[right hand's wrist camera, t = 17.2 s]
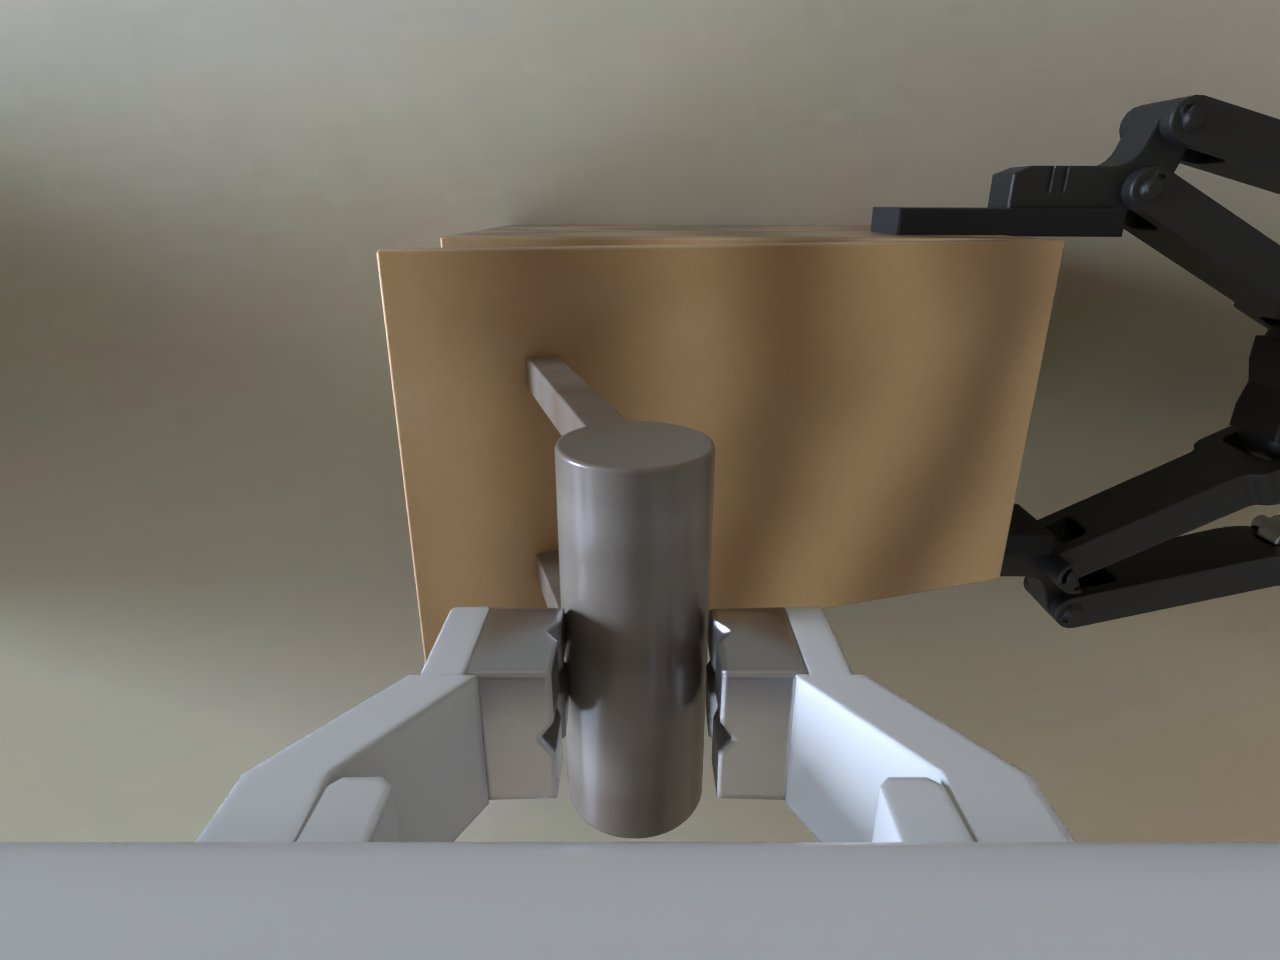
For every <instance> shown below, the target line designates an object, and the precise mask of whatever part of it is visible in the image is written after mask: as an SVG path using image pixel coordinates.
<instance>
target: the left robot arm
mask: <svg viewBox="0 0 1280 960" xmlns="http://www.w3.org/2000/svg"><path fill="white" fill-rule="evenodd" d="M1119 131H1120V138H1121V140H1120V142H1119V143H1118V145H1117V147H1116V149H1115V151H1114V152H1113V153H1112V155H1111V156H1110V157H1109V158H1108V159H1107V160H1106V161H1105V162H1103V163H1102V164H1100V165H1098V166H1026V167H1015V168H1009V169H1006V170H1004V171H1001V172H999V173H996V174H994V175H993V178H992V184H991V190H990V196H989V203H988V208H911V207H873V215H872V224H871V231H872V232H879V233H886V234H894V235H1006V236H1072V237H1122V232H1123V229H1125V230H1126V231H1128V232H1130V233H1131V234H1133V235H1134V236H1136V237H1137V238H1139V239H1140V240H1142V241H1143V242H1145V243H1146V244H1148V245H1149V246H1151V247H1152V248H1154V249H1155V250H1157V251H1158V252H1160V253H1161V254H1163V255H1164V256H1166V257H1167V258H1169V259H1170V260H1172V261H1174V262H1175V263H1177V264H1178V265H1180V266H1181V267H1183V268H1184V269H1186V270H1187V271H1189V272H1190V273H1192V274H1193V275H1195V276H1196V277H1198V278H1199V279H1201V280H1202V281H1204V282H1205V283H1207V284H1208V285H1210V286H1211V287H1213V288H1214V289H1216V290H1218V291H1219V292H1221V293H1222V294H1224V295H1225V296H1227V297H1228V298H1230V299H1231V300H1233V301H1234V302H1235V304H1234V306H1235V307H1236V308H1237V309H1238V310H1240V311H1241V312H1243V313H1244V314H1246V315H1247V316H1249V317H1251V318H1252V319H1254V320H1255V321H1257V322H1258V323H1260V324H1261V325H1263V326H1264V327H1266V328H1267V329H1269V330H1268V331H1267V333H1266V334H1265V336H1256V337H1255V340H1254V344H1253V347H1252V350H1251V354H1250V357H1249V380H1248V383H1247V385H1246V387H1245V388H1244V390H1243V392H1242V393H1241V395H1240V397H1239V399H1238V400H1237V402H1236V404H1235V408H1234V411H1233V415H1232V418H1231V421H1230V425H1232V426H1230V427H1227V428H1225V429H1223V430H1221V431H1218V432H1216V433H1214V434H1212V435H1209V436H1207V437H1205V438H1203V439H1201V440H1199V441H1197V442H1196V443H1195V444H1194V450H1193V451H1192V452H1190V453H1188V454H1186V455H1184V456H1181V457H1179V458H1177V459H1175V460H1172V461H1170V462H1168V463H1166V464H1163V465H1161V466H1159V467H1157V468H1154V469H1152V470H1150V471H1148V472H1145V473H1143V474H1141V475H1139V476H1136V477H1134V478H1132V479H1130V480H1127V481H1125V482H1123V483H1121V484H1118V485H1116V486H1114V487H1112V488H1109V489H1107V490H1105V491H1103V492H1100V493H1098V494H1096V495H1094V496H1091V497H1089V498H1087V499H1085V500H1082V501H1080V502H1078V503H1076V504H1073V505H1071V506H1069V507H1066V508H1064V509H1062V510H1060V511H1057V512H1055V513H1053V514H1051V515H1048V516H1046V517H1044V518H1042V519H1039V520H1036V519H1035V518H1034V517H1033V516H1031V515H1030V514H1029V513H1028V512H1027V511H1025V510H1024V509H1023V508H1022V507H1021V506H1019V505H1018V504H1014V506H1013V512H1012V517H1011V522H1010V527H1009V532H1008V537H1007V542H1006V547H1005V553H1004V558H1003V563H1002V568H1001V573H1000V576H1026V577H1025V578H1024V587H1025V589H1026V590H1027V591H1028V592H1029V593H1030V594H1031V595H1032V596H1033V598H1034V599H1035V600H1036V601H1037V602H1038V603H1039V604H1040V605H1041V606H1042V607H1043V608H1044V609H1045V610H1046V611H1047V612H1048V613H1049V614H1050V615H1051V616H1052V617H1053V618H1054V619H1055V620H1056V621H1057V622H1058V623H1059V624H1060V625H1061V626H1063V627H1066V628H1075V627H1080V626H1084V625H1089V624H1094V623H1099V622H1104V621H1109V620H1113V619H1118V618H1123V617H1128V616H1133V615H1137V614H1142V613H1147V612H1152V611H1157V610H1161V609H1166V608H1171V607H1176V606H1181V605H1185V604H1190V603H1195V602H1200V601H1205V600H1210V599H1214V598H1219V597H1224V596H1229V595H1234V594H1238V593H1243V592H1248V591H1253V590H1258V589H1262V588H1267V587H1272V586H1277V585H1279V586H1280V515H1277V516H1273V517H1270V518H1269V517H1267V516H1265V515H1260V516H1257V517H1256V518H1254V519H1253V521H1252V525H1251V526H1231V527H1223V528H1217V529H1211V530H1207V531H1202V532H1198V533H1193V534H1188V535H1184V536H1179V535H1182V534H1184V533H1186V532H1189V531H1191V530H1193V529H1196V528H1198V527H1200V526H1203V525H1205V524H1207V523H1210V522H1212V521H1215V520H1217V519H1219V518H1222V517H1224V516H1226V515H1229V514H1231V513H1233V512H1236V511H1238V510H1240V509H1243V508H1245V507H1247V506H1251V505H1275V504H1279V503H1280V245H1278V244H1277V243H1275V242H1274V241H1272V240H1271V239H1270V238H1268V237H1267V236H1265V235H1264V234H1262V233H1261V232H1259V231H1258V230H1256V229H1255V228H1253V227H1252V226H1251V225H1249V224H1248V223H1246V222H1245V221H1243V220H1242V219H1240V218H1239V217H1237V216H1236V215H1234V214H1233V213H1232V212H1230V211H1229V210H1227V209H1226V208H1224V207H1223V206H1221V205H1220V204H1218V203H1217V202H1215V201H1214V200H1213V199H1211V198H1210V197H1208V196H1207V195H1205V194H1204V193H1202V192H1201V191H1199V190H1198V189H1196V188H1195V187H1194V186H1192V185H1191V184H1189V183H1188V182H1186V181H1185V180H1183V179H1182V178H1180V177H1179V176H1177V175H1176V174H1175V173H1174V171H1175V170H1176V168H1177V166H1178V165H1179V163H1181V164H1184V165H1187V166H1191V167H1194V168H1197V169H1200V170H1203V171H1207V172H1210V173H1213V174H1216V175H1219V176H1223V177H1226V178H1229V179H1232V180H1236V181H1239V182H1242V183H1245V184H1248V185H1252V186H1255V187H1258V188H1261V189H1264V190H1268V191H1271V192H1274V193H1277V194H1280V120H1279V119H1276V118H1273V117H1270V116H1267V115H1264V114H1261V113H1258V112H1254V111H1251V110H1248V109H1245V108H1242V107H1239V106H1236V105H1233V104H1229V103H1226V102H1223V101H1220V100H1217V99H1214V98H1211V97H1208V96H1204V95H1193V96H1188V97H1182V98H1177V99H1172V100H1167V101H1162V102H1156V103H1151V104H1146V105H1141V106H1138V107H1135V108H1133V109H1132V110H1131V111H1129V112H1128V113H1127V114H1126V116H1125V117H1124V119H1123V120H1122V122H1121V126H1120V129H1119ZM1177 536H1179V537H1177ZM1174 537H1175V538H1174Z"/></svg>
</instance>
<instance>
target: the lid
mask: <svg viewBox="0 0 1280 960" xmlns="http://www.w3.org/2000/svg"><path fill="white" fill-rule="evenodd" d="M1064 245H1065V241H1063V240H1047V239H1009V240H942V241H875V242H808V243H741V244H674V245H607V246H540V247H473V248H406V249H379V250H378V252H377V261H378V270H379V278H380V287H381V295H382V304H383V312H384V321H385V329H386V338H387V346H388V354H389V363H390V371H391V380H392V388H393V397H394V405H395V414H396V422H397V431H398V439H399V448H400V456H401V464H402V473H403V481H404V490H405V498H406V507H407V515H408V524H409V532H410V541H411V549H412V557H413V566H414V574H415V583H416V591H417V600H418V608H419V617H420V625H421V634H422V642H423V651H424V659H425V663H426V661H427V659H428V657H429V655H430V653H431V651H432V648H433V646H434V644H435V642H436V640H437V638H438V636H439V634H440V631H441V629H442V627H443V625H444V623H445V621H446V619H447V617H448V614H449V612H450V611H451V610H452V609H453V608H455V607H481V606H490V607H491V608H493V607H518V608H565V612H566V629H567V644H566V650H565V657H564V661H565V662H566V664H567V667H568V678H569V708H568V722H567V730H566V744H567V768H568V792H569V797H570V800H571V803H572V805H573V807H574V808H575V810H576V812H577V813H578V814H579V816H580V817H581V818H582V819H583V820H584V821H585V822H587V823H588V824H589V825H591V826H592V827H594V828H595V829H597V830H599V831H601V832H604V833H607V834H609V835H613V836H617V837H623V838H647V837H652V836H657V835H660V834H663V833H666V832H668V831H670V830H673V829H674V828H676V827H678V826H679V825H681V824H682V823H683V822H684V821H686V820H687V819H688V818H689V817H690V815H691V814H692V813H693V811H694V810H695V809H696V807H697V805H698V803H699V800H700V797H701V792H702V773H703V748H704V723H705V698H706V665H707V648H708V639H707V631H708V616H709V610H710V609H731V608H772V607H784V608H786V607H809V606H819V607H820V608H822V609H824V608H830V607H836V606H841V605H847V604H853V603H859V602H865V601H871V600H877V599H883V598H888V597H894V596H900V595H906V594H912V593H918V592H924V591H930V590H935V589H941V588H947V587H953V586H959V585H965V584H971V583H977V582H982V581H988V580H994V579H999V578H1000V573H1001V568H1002V563H1003V558H1004V553H1005V547H1006V542H1007V537H1008V532H1009V527H1010V522H1011V517H1012V512H1013V506H1014V501H1015V496H1016V491H1017V486H1018V481H1019V476H1020V471H1021V465H1022V460H1023V455H1024V450H1025V445H1026V440H1027V435H1028V430H1029V424H1030V419H1031V414H1032V409H1033V404H1034V399H1035V394H1036V389H1037V383H1038V378H1039V373H1040V368H1041V363H1042V358H1043V353H1044V348H1045V343H1046V337H1047V332H1048V327H1049V322H1050V317H1051V312H1052V307H1053V302H1054V296H1055V291H1056V286H1057V281H1058V276H1059V271H1060V266H1061V261H1062V255H1063V250H1064Z"/></svg>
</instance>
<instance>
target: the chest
mask: <svg viewBox="0 0 1280 960" xmlns="http://www.w3.org/2000/svg"><path fill="white" fill-rule="evenodd" d="M1009 239H1038V238H1027V237H1017V236H1006V235H894V234H886V233H879V232H872V231H871V226H688V225H509V226H503V227H497V228H492V229H486V230H480V231H475V232H469V233H463V234H458V235H452V236H446V237H442V238H441V248H473V247H540V246H607V245H674V244H741V243H808V242H875V241H942V240H1009Z"/></svg>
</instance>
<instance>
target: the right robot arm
mask: <svg viewBox="0 0 1280 960" xmlns="http://www.w3.org/2000/svg"><path fill="white" fill-rule="evenodd" d="M707 639H708V646H709V653H710V661H709V663H708V664H707V665H706V713H707V724H708V733H709V736H710V737H711V738H712V739H713V740H712V764H713V771H714V778H715V785H716V793H717V798H739V799H775V800H785V803H786V804H787V805H788V806H789V808H790V809H791V810H792V811H793V812H794V813H795V814H796V815H797V816H798V817H799V818H800V820H801V821H802V822H803V823H804V824H805V825H806V826H807V827H808V828H809V829H810V831H811V832H812V833H813V834H814V835H815V836H816V837H817V838H818V839H819V840H820V842H454V840H455V839H456V838H457V837H458V836H459V835H460V834H461V833H462V832H463V831H464V830H465V829H466V827H467V826H468V825H469V824H470V823H471V822H472V821H473V820H474V819H475V818H476V817H477V816H478V815H479V813H480V812H481V811H482V810H483V809H484V808H485V807H486V806H487V805H488V804H489V802H488V800H498V799H533V798H557V794H558V787H559V780H560V773H561V766H562V760H563V759H562V738H563V737H565V736H566V730H567V722H568V708H569V678H568V667H567V664H566V662H565V661H564V657H565V650H566V644H567V629H566V612H565V608H518V607H493V608H491V607H490V606H481V607H455V608H453V609H452V610H451V611H450V612H449V614H448V617H447V619H446V621H445V623H444V625H443V627H442V629H441V631H440V634H439V636H438V638H437V640H436V642H435V644H434V646H433V648H432V651H431V653H430V655H429V657H428V659H427V661H426V663H425V666H424V668H423V670H422V672H421V674H420V675H408V676H406V677H404V678H403V679H401V680H399V681H398V682H396V683H394V684H393V685H391V686H389V687H388V688H386V689H384V690H383V691H381V692H379V693H378V694H376V695H374V696H373V697H371V698H369V699H368V700H366V701H364V702H363V703H361V704H359V705H357V706H356V707H354V708H352V709H351V710H349V711H347V712H346V713H344V714H342V715H341V716H339V717H337V718H336V719H334V720H332V721H331V722H329V723H327V724H326V725H324V726H322V727H321V728H319V729H317V730H316V731H314V732H312V733H311V734H309V735H307V736H306V737H304V738H302V739H300V740H299V741H297V742H295V743H294V744H292V745H290V746H289V747H287V748H285V749H284V750H282V751H280V752H279V753H277V754H275V755H274V756H272V757H270V758H269V759H267V760H265V761H264V762H262V763H260V764H259V765H257V766H255V767H254V768H252V769H250V770H249V771H247V772H245V773H243V774H242V776H241V777H240V779H239V780H238V781H237V783H236V784H235V786H234V787H233V789H232V790H231V791H230V793H229V794H228V796H227V797H226V799H225V800H224V801H223V803H222V804H221V806H220V807H219V809H218V810H217V811H216V813H215V814H214V816H213V817H212V819H211V820H210V821H209V823H208V824H207V826H206V827H205V829H204V830H203V831H202V833H201V834H200V836H199V837H198V839H197V840H196V841H195V842H0V960H1280V842H1076V841H1075V840H1074V839H1073V837H1072V836H1071V834H1070V833H1069V831H1068V830H1067V828H1066V827H1065V825H1064V824H1063V822H1062V821H1061V819H1060V818H1059V816H1058V815H1057V813H1056V812H1055V811H1054V809H1053V808H1052V806H1051V805H1050V803H1049V802H1048V800H1047V799H1046V797H1045V796H1044V794H1043V793H1042V791H1041V790H1040V788H1039V787H1038V786H1037V784H1036V783H1035V781H1034V780H1033V778H1032V777H1031V775H1029V774H1028V773H1026V772H1024V771H1023V770H1021V769H1020V768H1018V767H1016V766H1015V765H1013V764H1011V763H1010V762H1008V761H1006V760H1005V759H1003V758H1001V757H1000V756H998V755H996V754H995V753H993V752H991V751H990V750H988V749H986V748H985V747H983V746H981V745H980V744H978V743H977V742H975V741H973V740H972V739H970V738H968V737H967V736H965V735H963V734H962V733H960V732H958V731H957V730H955V729H953V728H952V727H950V726H948V725H947V724H945V723H943V722H942V721H940V720H938V719H937V718H935V717H934V716H932V715H930V714H929V713H927V712H925V711H924V710H922V709H920V708H919V707H917V706H915V705H914V704H912V703H910V702H909V701H907V700H905V699H904V698H902V697H900V696H899V695H897V694H895V693H894V692H892V691H891V690H889V689H887V688H886V687H884V686H882V685H881V684H879V683H877V682H876V681H874V680H872V679H871V678H869V677H867V676H866V675H853V673H852V671H851V669H850V666H849V664H848V662H847V660H846V658H845V656H844V653H843V651H842V649H841V647H840V645H839V643H838V640H837V638H836V636H835V634H834V632H833V630H832V627H831V625H830V623H829V621H828V619H827V617H826V614H825V612H824V610H823V609H822V608H820V607H819V606H809V607H786V608H784V607H772V608H731V609H710V610H709V616H708V631H707Z"/></svg>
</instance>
